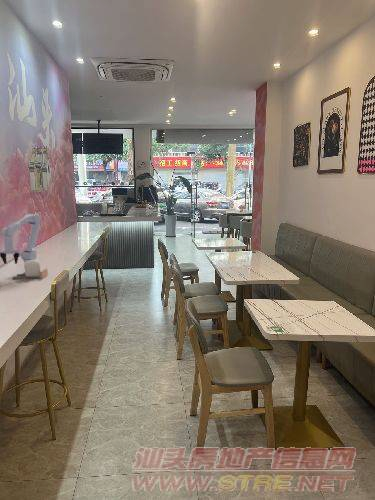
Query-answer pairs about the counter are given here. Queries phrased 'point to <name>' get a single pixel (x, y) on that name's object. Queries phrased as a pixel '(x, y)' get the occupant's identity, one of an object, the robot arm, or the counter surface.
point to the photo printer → (32, 268)
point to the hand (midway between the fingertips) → (10, 263)
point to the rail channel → (42, 275)
